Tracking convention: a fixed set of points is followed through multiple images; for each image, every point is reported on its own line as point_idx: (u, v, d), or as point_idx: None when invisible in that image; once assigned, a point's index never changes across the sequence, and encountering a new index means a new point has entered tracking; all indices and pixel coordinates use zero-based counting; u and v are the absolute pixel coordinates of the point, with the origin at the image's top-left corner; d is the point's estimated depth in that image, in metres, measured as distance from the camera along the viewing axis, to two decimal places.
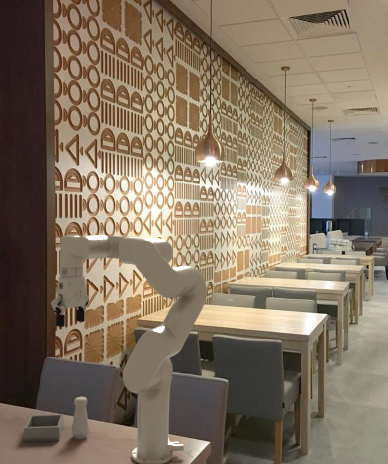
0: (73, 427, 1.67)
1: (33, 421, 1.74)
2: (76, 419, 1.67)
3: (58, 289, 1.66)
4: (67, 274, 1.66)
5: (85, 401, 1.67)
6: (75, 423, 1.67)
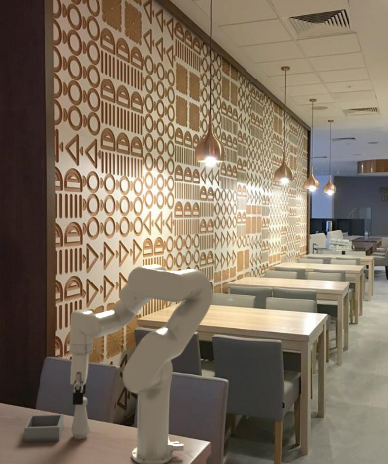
0: (73, 427, 1.67)
1: (33, 421, 1.74)
2: (76, 419, 1.67)
3: None
4: None
5: (85, 401, 1.67)
6: (75, 423, 1.67)
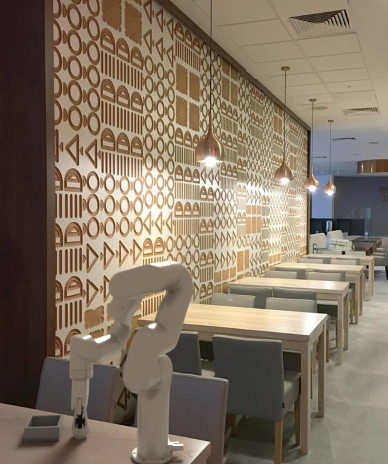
0: (73, 427, 1.67)
1: (33, 421, 1.74)
2: None
3: None
4: None
5: None
6: None
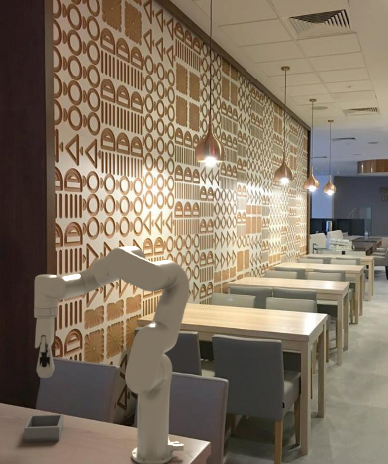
0: (38, 366, 1.68)
1: (33, 421, 1.74)
2: None
3: None
4: None
5: None
6: None
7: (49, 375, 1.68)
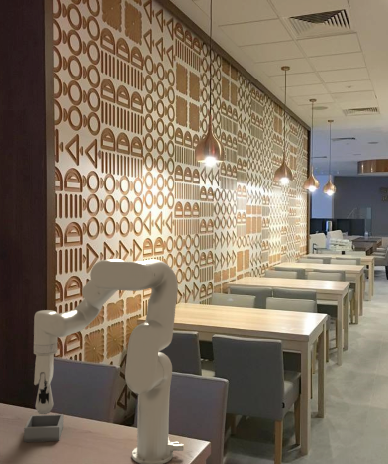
0: (37, 402, 1.68)
1: (33, 421, 1.74)
2: None
3: None
4: None
5: None
6: None
7: (48, 411, 1.69)
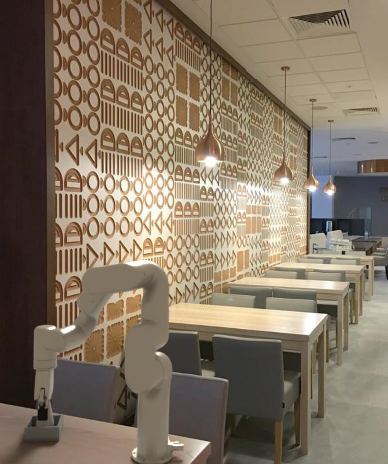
0: (37, 421, 1.68)
1: (33, 421, 1.74)
2: None
3: None
4: None
5: None
6: None
7: None
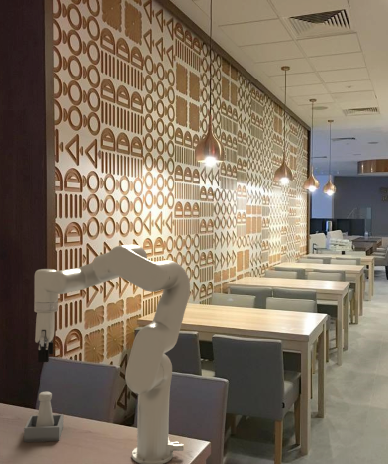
0: (37, 421, 1.68)
1: (33, 421, 1.74)
2: (40, 414, 1.68)
3: None
4: None
5: (49, 396, 1.69)
6: (39, 418, 1.68)
7: None
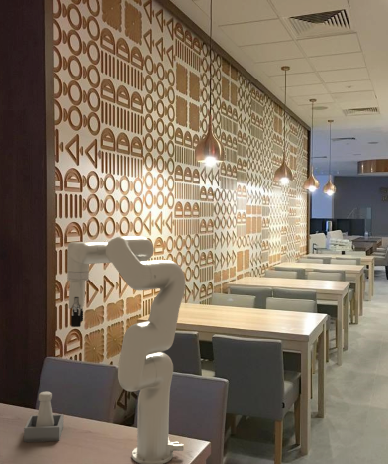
0: (37, 421, 1.68)
1: (33, 421, 1.74)
2: (40, 414, 1.68)
3: None
4: None
5: (49, 396, 1.69)
6: (39, 418, 1.68)
7: None
